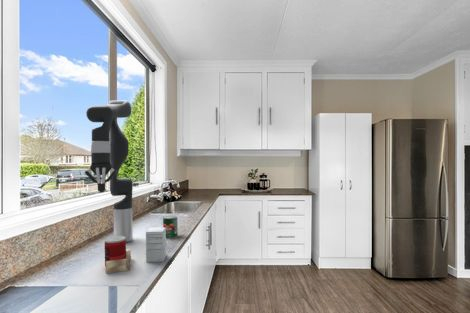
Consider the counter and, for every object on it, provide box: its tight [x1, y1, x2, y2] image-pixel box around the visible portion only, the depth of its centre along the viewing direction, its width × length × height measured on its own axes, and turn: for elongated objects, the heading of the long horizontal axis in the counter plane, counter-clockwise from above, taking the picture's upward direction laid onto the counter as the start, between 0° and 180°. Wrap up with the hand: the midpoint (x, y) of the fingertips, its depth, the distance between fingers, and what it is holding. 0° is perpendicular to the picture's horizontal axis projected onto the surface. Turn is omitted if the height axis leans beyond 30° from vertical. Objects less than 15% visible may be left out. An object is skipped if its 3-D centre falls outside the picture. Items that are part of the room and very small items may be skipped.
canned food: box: [104, 236, 127, 268], centre depth 111 cm, size 8×8×11 cm
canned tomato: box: [162, 215, 179, 240], centre depth 154 cm, size 8×8×11 cm
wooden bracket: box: [105, 249, 132, 274], centre depth 112 cm, size 8×13×4 cm, turn 20°
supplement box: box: [145, 226, 167, 263], centre depth 119 cm, size 7×7×13 cm
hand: (101, 192), depth 120 cm, fingers closed
